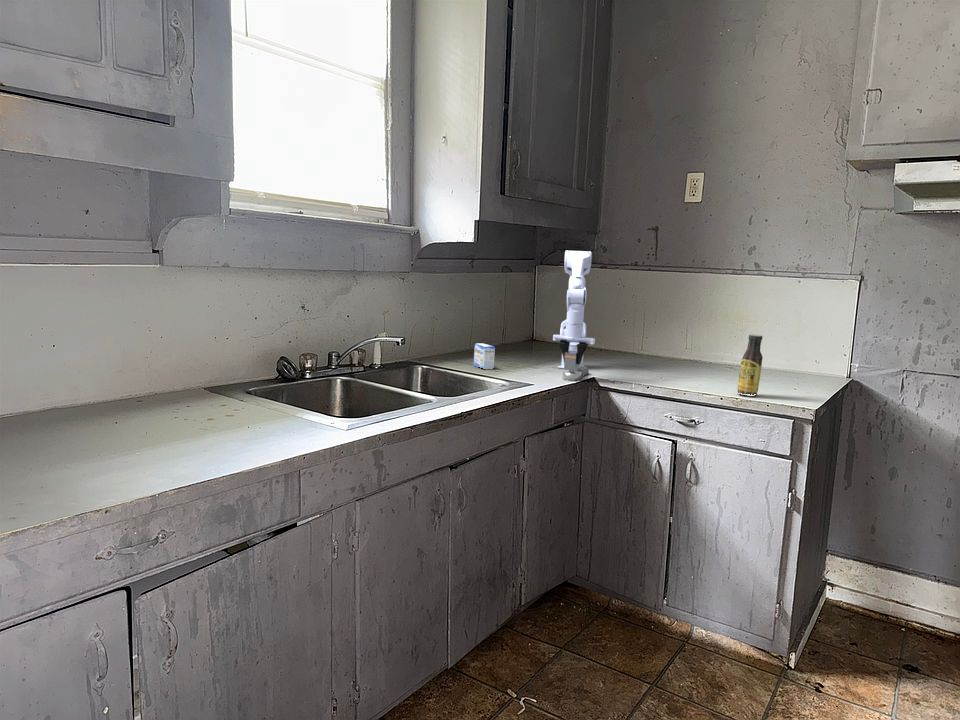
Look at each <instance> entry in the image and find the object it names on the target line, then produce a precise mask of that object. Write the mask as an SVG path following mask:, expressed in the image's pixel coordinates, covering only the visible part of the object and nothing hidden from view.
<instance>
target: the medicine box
mask: <svg viewBox="0 0 960 720" xmlns="http://www.w3.org/2000/svg"><path fill="white" fill-rule="evenodd" d="M495 349H496V347H495V345H494V346H493V345H490V344H486V343H483V342H482V343H475V344H474V351H473V352H474V353H473V355H474V356H473V367H474V366H477V367H480V368H483V369H493V368H494V367H495V355H496V354H495V353H496V352H495ZM477 367H476V368H477ZM480 368H479V369H480ZM483 369H482V370H483ZM493 370H494V369H493Z"/></svg>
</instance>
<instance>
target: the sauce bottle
mask: <svg viewBox="0 0 960 720" xmlns="http://www.w3.org/2000/svg"><path fill="white" fill-rule="evenodd" d="M762 341H763V335H762V334H756V333H755V334H754V333H753V334H752V333H749V334H748V342H747V343H748V344H747V348H746V350H745V352H744V353H743V356H742V359H741V362H740V366H739V367H740V368H739V374H738V375H739V376H738V383H737V388H736V389H737V392H738V393H742V394H750V395H751V394H752V395H754V394H758V393H759V386H760V379H761V373H762V366H763V355H762V352H761V344H762ZM738 393H737V394H738Z"/></svg>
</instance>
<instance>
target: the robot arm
mask: <svg viewBox="0 0 960 720" xmlns="http://www.w3.org/2000/svg"><path fill="white" fill-rule="evenodd" d="M592 254H593V252H591V250H589V251H585V250H567V249H566V250H565V252H564V264H563V265H564V268H563V269H564V273H565V274H568V275H569V279H568V289H567V290H566V311H567V312H566V319H565V320H563V321H561V324H560V329H559V330H560V331H559V334H553V335H552V341H555V342H556V341H559V342H558V346H559V348H560V351H561V363H560V364H561V365H558V366H557V368H559V369H564V362H565V352H567V351H577V364H579V367H586V365H584V357H585V356H584V354H585V351H586V350H587V348H588V347H589V345H592V346H593V345H595V342H596V338H594V337H587V324H586V322H584V318H585V317H584V316H585V315H584V314H585V305H586V304H587V296H588V295H587V294H588V293H587V288H586V278H585V277H584V276H586V275H588V274H589V273H590V272H591V267H592V257H593V255H592Z"/></svg>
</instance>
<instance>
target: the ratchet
mask: <svg viewBox="0 0 960 720" xmlns="http://www.w3.org/2000/svg"><path fill="white" fill-rule="evenodd" d="M589 370H590V367H587V366H585V367H579V369H578V370H576V371H573V370H563V371H562V380H563V379H564V380H563V381H566V380H568V381H567V382H578V381H577V380H579V381H580V380H581V379H580V378H581V377H580V376H583V375H585V374H587V373H588V374H589ZM588 374H587V375H588ZM585 376H586V375H585ZM583 377H584V376H583Z"/></svg>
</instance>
